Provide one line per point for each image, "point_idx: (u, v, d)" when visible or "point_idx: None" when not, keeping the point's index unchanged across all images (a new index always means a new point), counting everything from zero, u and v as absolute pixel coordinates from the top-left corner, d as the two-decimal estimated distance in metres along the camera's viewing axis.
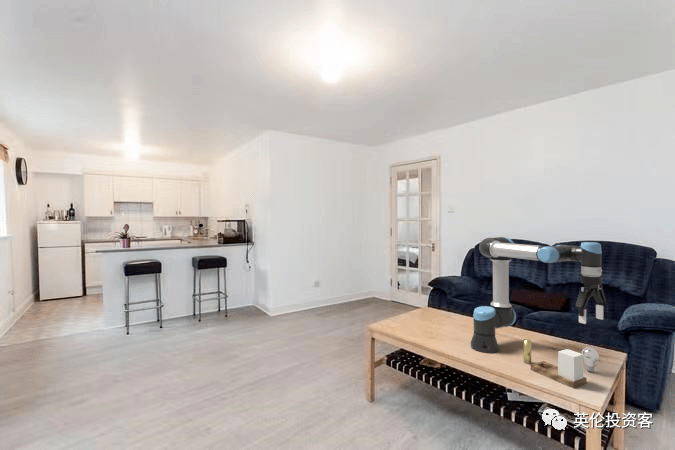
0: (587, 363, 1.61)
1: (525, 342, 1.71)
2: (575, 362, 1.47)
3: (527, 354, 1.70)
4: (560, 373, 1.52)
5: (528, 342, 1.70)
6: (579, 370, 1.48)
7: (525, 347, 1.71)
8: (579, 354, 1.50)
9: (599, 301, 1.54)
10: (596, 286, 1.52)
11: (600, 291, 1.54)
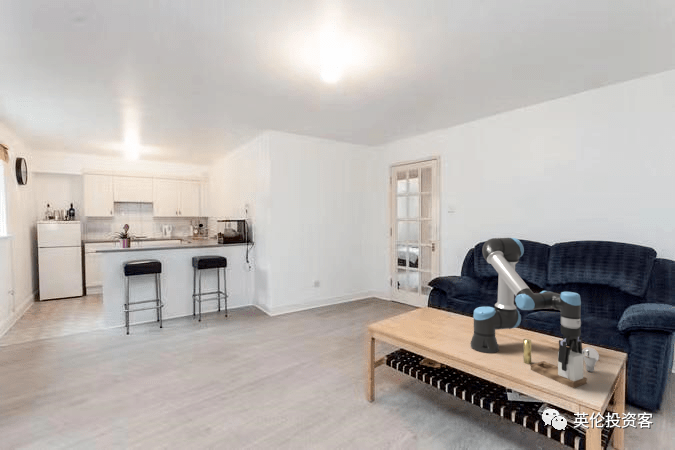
0: (587, 363, 1.61)
1: (525, 342, 1.71)
2: (575, 362, 1.47)
3: (527, 354, 1.70)
4: (560, 373, 1.52)
5: (528, 342, 1.70)
6: (579, 370, 1.48)
7: (525, 347, 1.71)
8: (579, 354, 1.50)
9: None
10: None
11: (579, 343, 1.53)
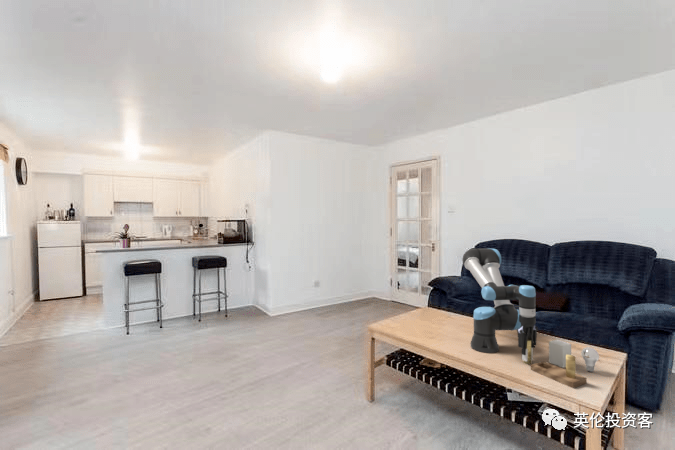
0: (587, 363, 1.61)
1: None
2: (564, 350, 1.66)
3: None
4: (551, 361, 1.71)
5: (528, 342, 1.70)
6: None
7: None
8: (567, 343, 1.68)
9: None
10: None
11: (534, 332, 1.73)
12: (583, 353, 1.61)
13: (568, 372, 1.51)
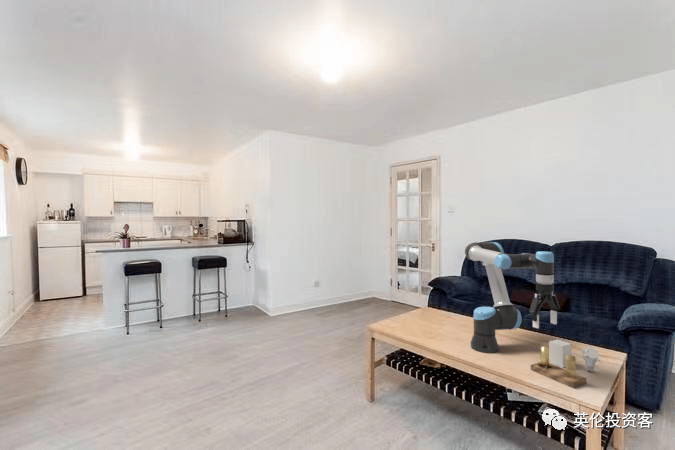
0: (587, 363, 1.61)
1: (543, 349, 1.61)
2: (564, 350, 1.66)
3: (545, 362, 1.61)
4: (551, 361, 1.71)
5: (546, 349, 1.60)
6: None
7: (543, 354, 1.61)
8: (567, 343, 1.68)
9: (553, 307, 1.64)
10: (549, 293, 1.62)
11: (554, 297, 1.64)
12: (583, 353, 1.61)
13: (568, 372, 1.51)
